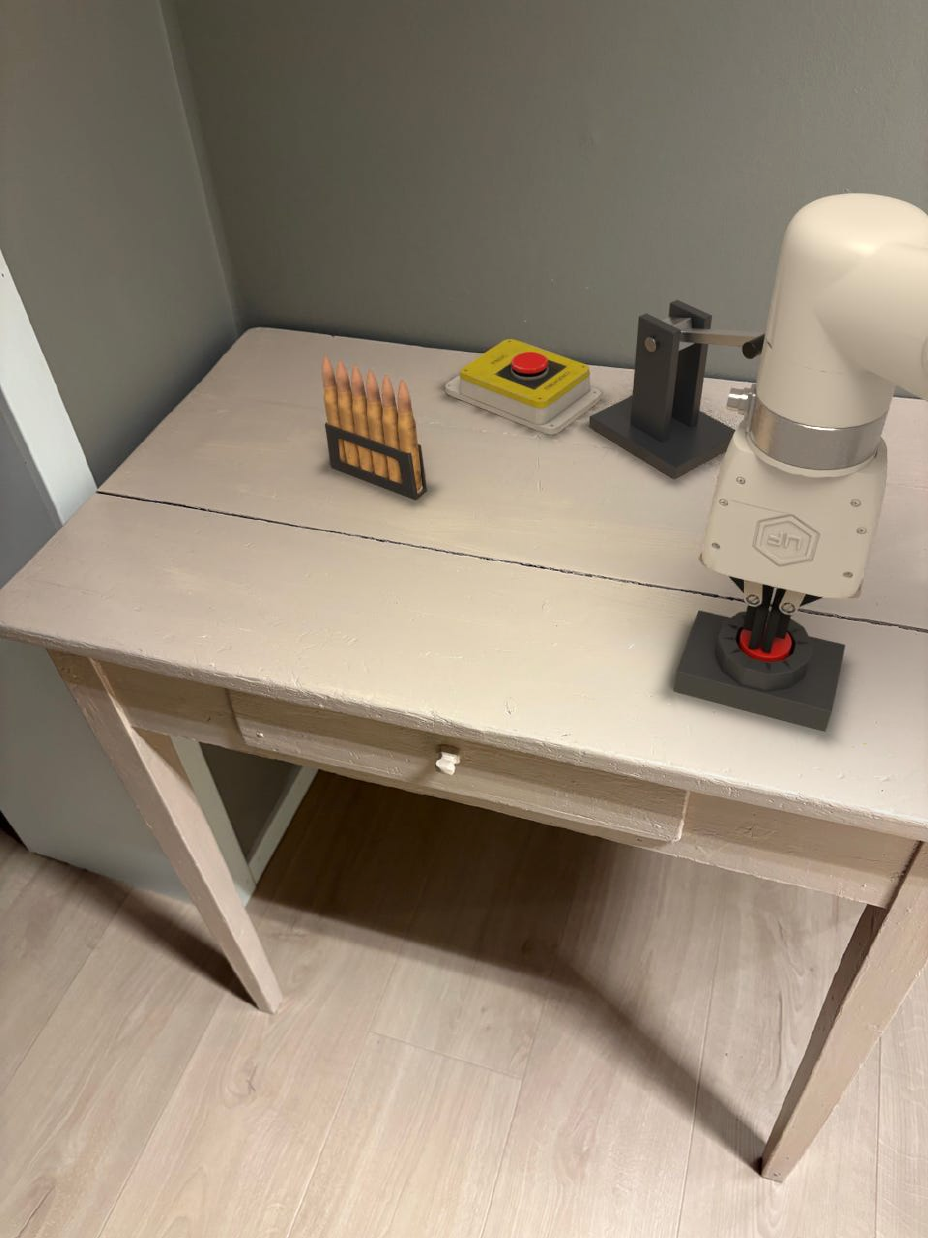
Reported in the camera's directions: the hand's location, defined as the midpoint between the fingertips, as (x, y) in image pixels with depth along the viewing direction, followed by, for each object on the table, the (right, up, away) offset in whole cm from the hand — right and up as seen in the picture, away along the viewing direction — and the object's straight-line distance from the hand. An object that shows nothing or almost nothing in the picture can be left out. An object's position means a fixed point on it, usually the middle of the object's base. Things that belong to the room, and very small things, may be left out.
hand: (763, 637), depth 70 cm
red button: (0, -1, +1) cm, 2 cm away
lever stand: (-2, +20, +27) cm, 33 cm away
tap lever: (+1, +25, +15) cm, 30 cm away
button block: (0, -3, +3) cm, 4 cm away
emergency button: (-15, +25, +34) cm, 45 cm away
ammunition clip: (-30, +15, +24) cm, 41 cm away
